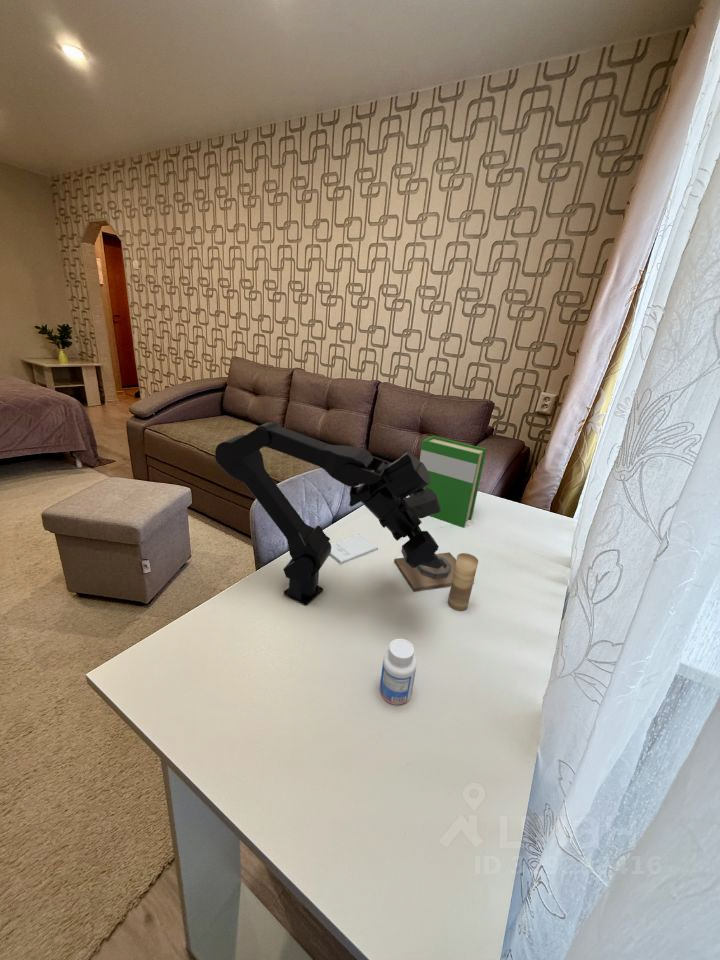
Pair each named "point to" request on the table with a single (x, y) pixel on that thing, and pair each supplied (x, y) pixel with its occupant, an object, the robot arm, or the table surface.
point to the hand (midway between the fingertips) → (432, 553)
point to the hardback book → (453, 477)
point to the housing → (428, 573)
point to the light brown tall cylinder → (462, 581)
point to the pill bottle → (398, 672)
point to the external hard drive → (351, 548)
